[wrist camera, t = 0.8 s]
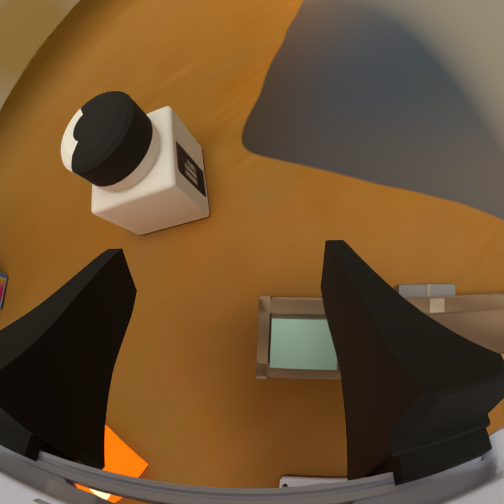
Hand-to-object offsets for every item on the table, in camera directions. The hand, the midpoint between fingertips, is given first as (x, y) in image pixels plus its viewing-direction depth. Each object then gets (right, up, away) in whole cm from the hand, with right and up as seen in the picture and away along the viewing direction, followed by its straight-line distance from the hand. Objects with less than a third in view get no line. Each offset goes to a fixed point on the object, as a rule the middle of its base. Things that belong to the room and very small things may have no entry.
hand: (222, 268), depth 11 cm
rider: (+5, -6, +11) cm, 13 cm away
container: (-7, +7, +19) cm, 21 cm away
